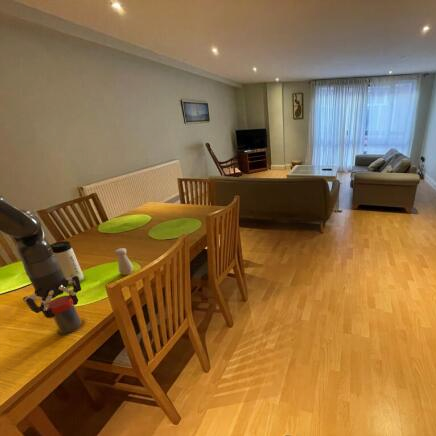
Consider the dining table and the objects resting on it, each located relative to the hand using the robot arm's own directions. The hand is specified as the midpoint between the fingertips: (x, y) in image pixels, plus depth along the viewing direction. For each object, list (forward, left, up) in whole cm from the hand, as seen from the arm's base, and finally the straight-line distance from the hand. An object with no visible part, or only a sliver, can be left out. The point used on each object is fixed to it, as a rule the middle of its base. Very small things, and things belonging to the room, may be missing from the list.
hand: (63, 310), depth 83 cm
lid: (0, 0, +3) cm, 3 cm away
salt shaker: (+30, +14, -8) cm, 34 cm away
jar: (0, 0, -8) cm, 8 cm away
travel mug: (+16, +30, -8) cm, 35 cm away
